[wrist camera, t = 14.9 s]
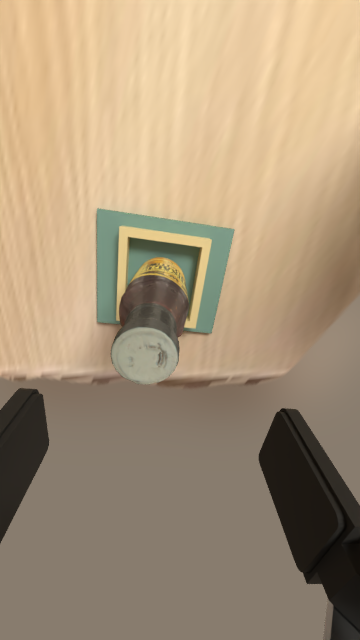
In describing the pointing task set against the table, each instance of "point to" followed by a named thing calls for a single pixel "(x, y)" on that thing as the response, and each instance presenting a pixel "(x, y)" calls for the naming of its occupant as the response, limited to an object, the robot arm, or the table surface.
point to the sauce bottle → (151, 322)
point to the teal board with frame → (160, 241)
